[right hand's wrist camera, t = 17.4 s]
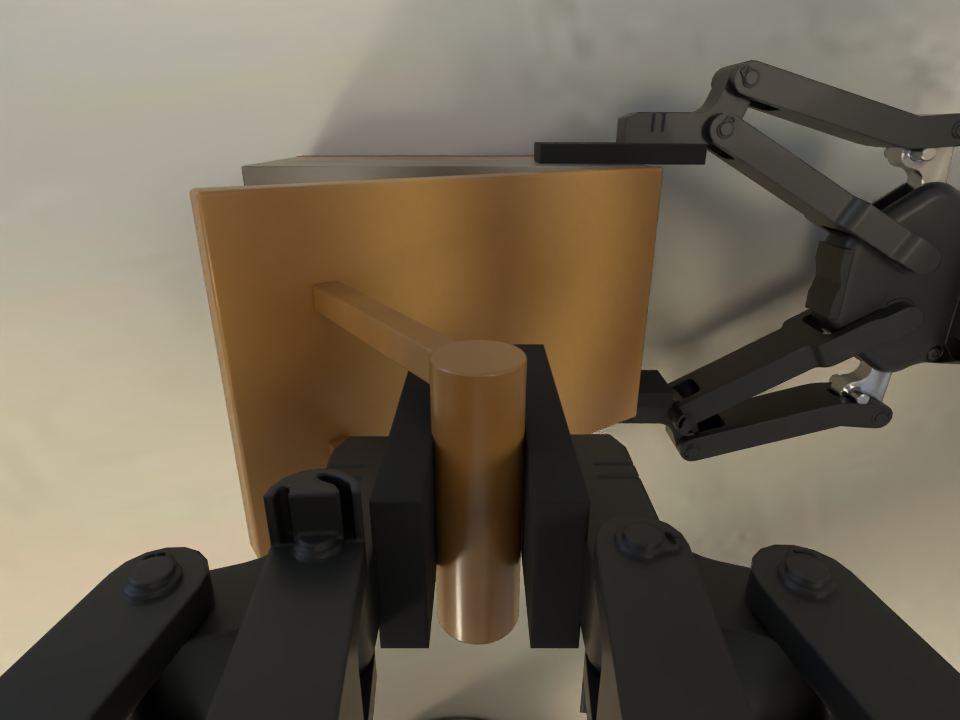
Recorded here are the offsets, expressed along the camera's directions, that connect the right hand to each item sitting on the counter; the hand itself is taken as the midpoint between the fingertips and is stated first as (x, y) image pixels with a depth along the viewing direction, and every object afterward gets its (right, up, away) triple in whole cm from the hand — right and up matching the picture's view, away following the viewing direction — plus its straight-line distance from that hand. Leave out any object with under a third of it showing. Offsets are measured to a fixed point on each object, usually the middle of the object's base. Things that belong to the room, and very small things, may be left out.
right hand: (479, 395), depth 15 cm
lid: (0, +2, +5) cm, 5 cm away
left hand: (+2, +4, +12) cm, 13 cm away
